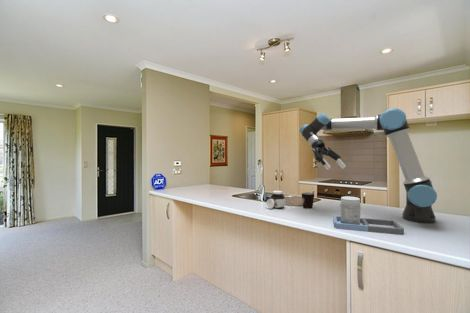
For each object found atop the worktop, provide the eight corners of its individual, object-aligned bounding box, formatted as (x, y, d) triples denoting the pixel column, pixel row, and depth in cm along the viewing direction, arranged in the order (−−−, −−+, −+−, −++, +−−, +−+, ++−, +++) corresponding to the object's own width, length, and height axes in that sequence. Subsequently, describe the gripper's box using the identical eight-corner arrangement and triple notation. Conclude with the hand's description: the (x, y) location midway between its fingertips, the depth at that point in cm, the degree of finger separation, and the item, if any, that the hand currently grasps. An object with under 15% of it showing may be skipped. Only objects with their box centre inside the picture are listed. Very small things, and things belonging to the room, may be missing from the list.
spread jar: (286, 207, 169) (286, 191, 169) (280, 211, 159) (280, 193, 159) (270, 205, 175) (270, 189, 175) (264, 208, 166) (264, 192, 165)
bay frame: (395, 225, 127) (395, 220, 127) (404, 234, 112) (404, 229, 112) (333, 219, 138) (333, 215, 138) (334, 228, 123) (334, 223, 123)
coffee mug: (314, 209, 164) (315, 194, 164) (301, 208, 166) (301, 194, 165) (312, 205, 175) (312, 191, 175) (300, 205, 177) (300, 191, 177)
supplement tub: (344, 221, 134) (344, 195, 134) (362, 225, 128) (362, 197, 127) (337, 225, 127) (337, 198, 127) (357, 229, 121) (357, 200, 120)
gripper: (326, 147, 161) (346, 171, 148) (299, 147, 149) (318, 173, 136) (332, 139, 157) (354, 163, 144) (305, 138, 144) (326, 164, 131)
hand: (336, 168), depth 140 cm, fingers open, 13 cm apart
